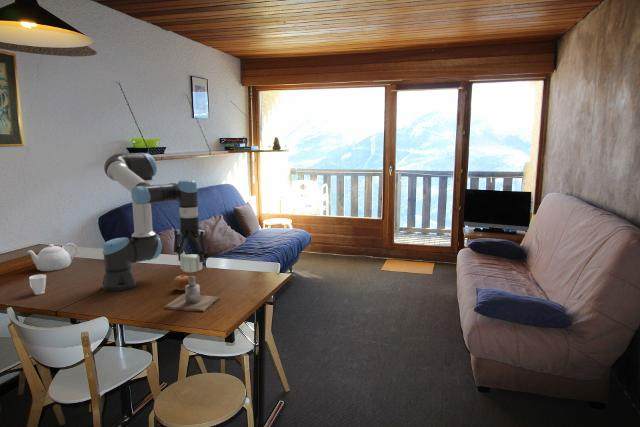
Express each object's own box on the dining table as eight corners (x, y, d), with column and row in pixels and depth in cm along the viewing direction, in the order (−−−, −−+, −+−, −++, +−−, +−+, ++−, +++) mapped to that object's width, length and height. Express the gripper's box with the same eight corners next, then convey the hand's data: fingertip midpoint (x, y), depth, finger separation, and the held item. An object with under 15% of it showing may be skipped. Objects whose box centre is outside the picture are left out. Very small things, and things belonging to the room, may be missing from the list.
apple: (173, 288, 212) (172, 272, 211) (190, 286, 216) (189, 270, 214) (174, 293, 205) (173, 277, 204) (192, 291, 208) (191, 275, 207)
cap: (179, 271, 187) (178, 257, 186) (187, 266, 194) (187, 253, 193) (194, 272, 185) (194, 259, 184) (203, 268, 192) (202, 254, 191)
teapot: (60, 272, 239) (58, 248, 237) (27, 272, 239) (24, 247, 237) (79, 263, 258) (77, 240, 256) (48, 263, 258) (46, 240, 256)
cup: (35, 296, 201) (34, 279, 200) (23, 293, 206) (21, 276, 204) (51, 292, 207) (49, 275, 206) (38, 288, 212) (37, 272, 211)
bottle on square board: (164, 308, 186) (162, 281, 184) (183, 296, 202) (182, 270, 200) (203, 311, 182) (202, 284, 180) (220, 298, 198) (219, 273, 196)
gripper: (162, 217, 184) (165, 269, 188) (206, 218, 180) (209, 272, 184) (172, 214, 192) (174, 265, 195) (215, 216, 187) (217, 267, 191)
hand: (191, 268), depth 189 cm, fingers closed on cap, 7 cm apart
